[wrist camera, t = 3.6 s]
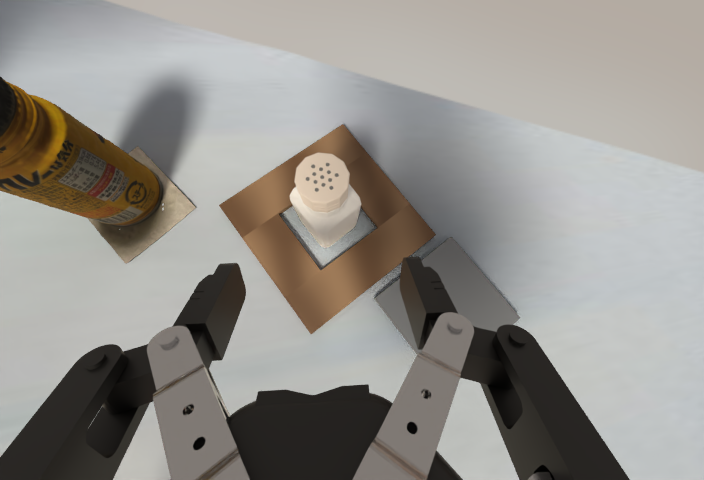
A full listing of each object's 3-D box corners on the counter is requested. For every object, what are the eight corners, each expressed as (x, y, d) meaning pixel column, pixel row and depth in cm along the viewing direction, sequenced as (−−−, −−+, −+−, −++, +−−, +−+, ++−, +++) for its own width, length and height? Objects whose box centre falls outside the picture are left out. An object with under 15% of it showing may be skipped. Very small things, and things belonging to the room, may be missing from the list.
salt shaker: (298, 218, 24) (272, 171, 15) (332, 193, 25) (327, 133, 16) (325, 251, 24) (316, 224, 15) (359, 225, 25) (371, 182, 15)
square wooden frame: (311, 333, 22) (311, 334, 22) (221, 207, 24) (218, 205, 24) (434, 236, 25) (436, 234, 24) (342, 127, 27) (342, 124, 26)
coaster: (441, 386, 22) (444, 388, 22) (374, 298, 23) (375, 298, 23) (515, 317, 24) (520, 317, 23) (449, 238, 25) (451, 236, 24)
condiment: (139, 147, 25) (-35, 18, 13) (196, 208, 24) (64, 126, 13) (71, 198, 24) (-188, 104, 12) (129, 264, 23) (-90, 232, 11)
